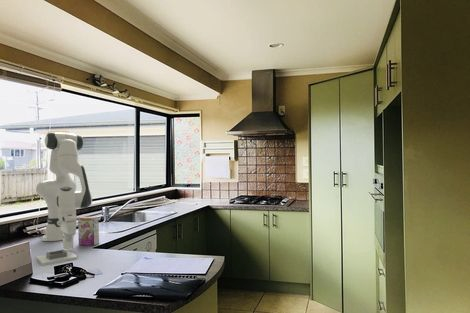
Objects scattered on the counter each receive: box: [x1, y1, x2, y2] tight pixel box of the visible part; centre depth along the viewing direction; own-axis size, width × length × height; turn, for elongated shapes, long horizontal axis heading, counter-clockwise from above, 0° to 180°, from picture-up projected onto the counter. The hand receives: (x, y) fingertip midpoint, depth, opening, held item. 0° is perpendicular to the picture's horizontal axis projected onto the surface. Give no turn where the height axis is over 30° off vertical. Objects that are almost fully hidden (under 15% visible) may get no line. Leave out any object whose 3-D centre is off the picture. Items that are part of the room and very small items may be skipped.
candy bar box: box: [77, 216, 100, 246], centre depth 212 cm, size 11×5×16 cm, turn 74°
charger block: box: [62, 233, 74, 250], centre depth 198 cm, size 4×4×8 cm
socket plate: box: [35, 249, 78, 266], centre depth 182 cm, size 16×16×3 cm
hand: (68, 240), depth 198 cm, fingers closed on charger block, 4 cm apart
